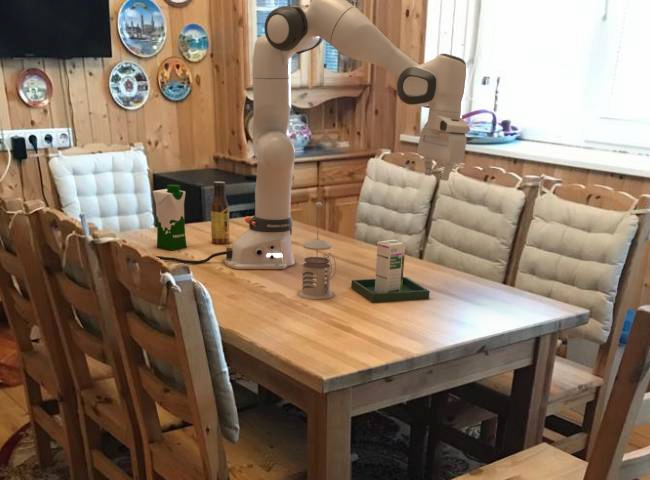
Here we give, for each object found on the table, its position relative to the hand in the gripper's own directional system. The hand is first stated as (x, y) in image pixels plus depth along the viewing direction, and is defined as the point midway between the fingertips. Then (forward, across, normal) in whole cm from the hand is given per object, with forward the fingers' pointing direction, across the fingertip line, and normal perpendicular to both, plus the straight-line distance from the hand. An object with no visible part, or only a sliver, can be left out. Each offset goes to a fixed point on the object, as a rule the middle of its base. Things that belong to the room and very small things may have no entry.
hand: (436, 177), depth 226 cm
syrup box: (+32, +2, -12) cm, 34 cm away
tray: (+32, +1, -11) cm, 33 cm away
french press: (+33, -2, -32) cm, 46 cm away
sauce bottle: (+33, -72, -41) cm, 89 cm away
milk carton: (+34, -68, -59) cm, 96 cm away
